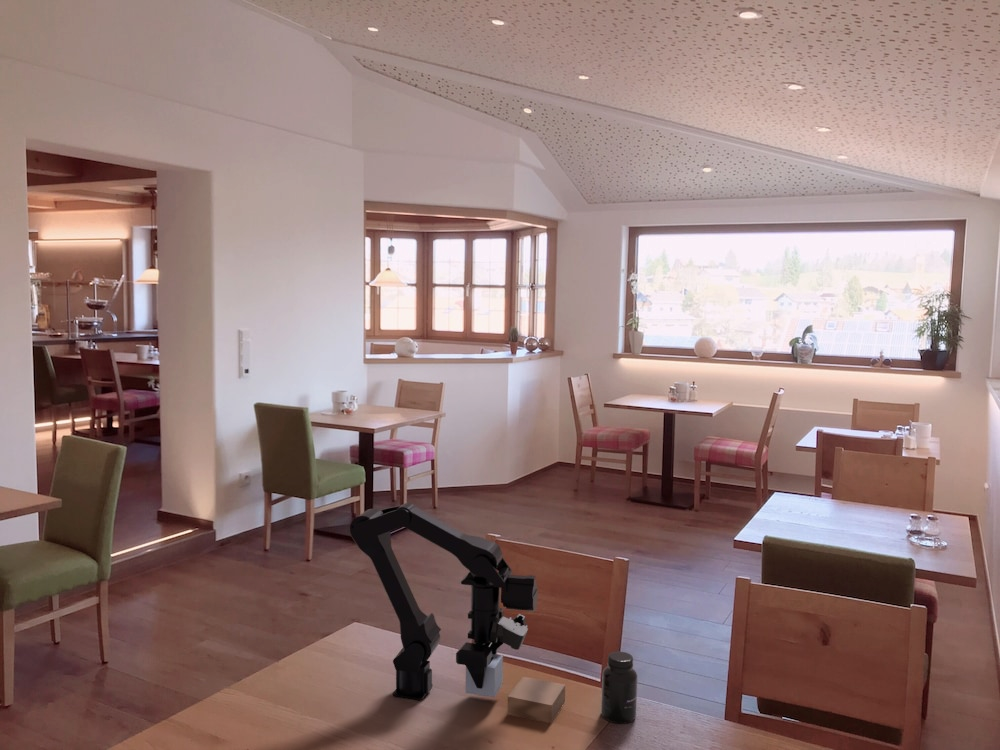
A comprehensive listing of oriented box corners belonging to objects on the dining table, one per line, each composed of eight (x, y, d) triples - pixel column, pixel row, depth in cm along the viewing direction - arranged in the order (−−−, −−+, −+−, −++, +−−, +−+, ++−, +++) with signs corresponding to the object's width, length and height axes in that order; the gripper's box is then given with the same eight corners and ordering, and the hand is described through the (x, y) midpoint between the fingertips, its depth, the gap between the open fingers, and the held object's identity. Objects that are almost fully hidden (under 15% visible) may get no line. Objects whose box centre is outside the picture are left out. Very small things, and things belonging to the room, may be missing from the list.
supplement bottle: (635, 726, 153) (637, 665, 151) (599, 722, 154) (601, 662, 153) (636, 708, 159) (638, 650, 158) (602, 704, 161) (603, 647, 160)
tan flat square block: (507, 715, 156) (507, 696, 156) (522, 695, 165) (523, 676, 164) (551, 725, 153) (551, 705, 153) (564, 703, 162) (565, 684, 161)
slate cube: (465, 693, 160) (465, 664, 159) (474, 679, 165) (474, 651, 165) (494, 697, 158) (494, 668, 158) (502, 683, 164) (502, 655, 163)
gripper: (511, 629, 149) (510, 709, 150) (535, 594, 167) (533, 666, 168) (455, 621, 152) (454, 700, 153) (484, 588, 170) (483, 659, 171)
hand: (484, 680), depth 162 cm, fingers closed on slate cube, 6 cm apart
